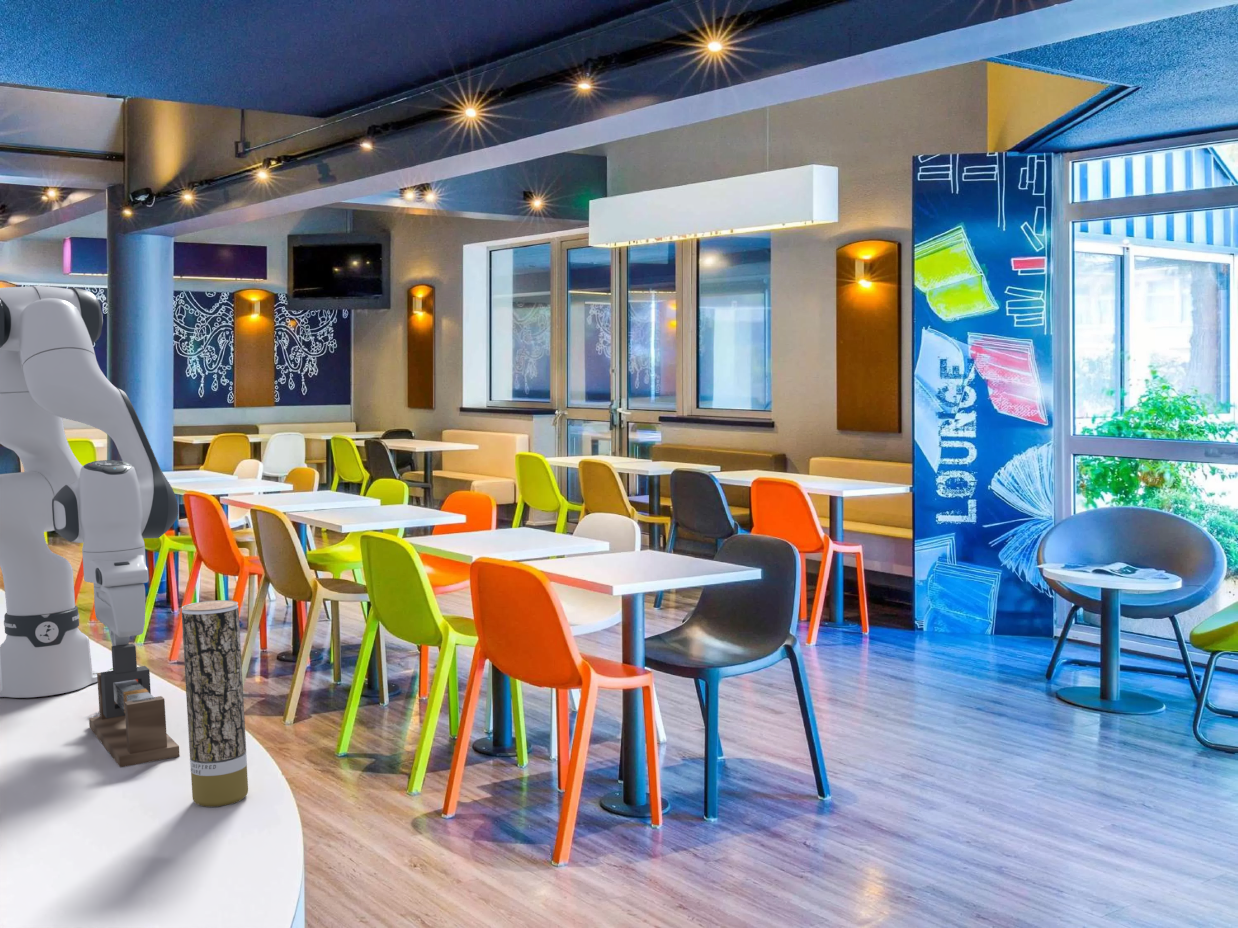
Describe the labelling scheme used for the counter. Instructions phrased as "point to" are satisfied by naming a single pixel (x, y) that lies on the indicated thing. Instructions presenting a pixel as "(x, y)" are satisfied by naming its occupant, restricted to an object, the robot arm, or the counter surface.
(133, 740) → the base
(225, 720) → the paper tube
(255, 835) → the counter surface
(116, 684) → the grey metal bar
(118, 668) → the grey clamp
